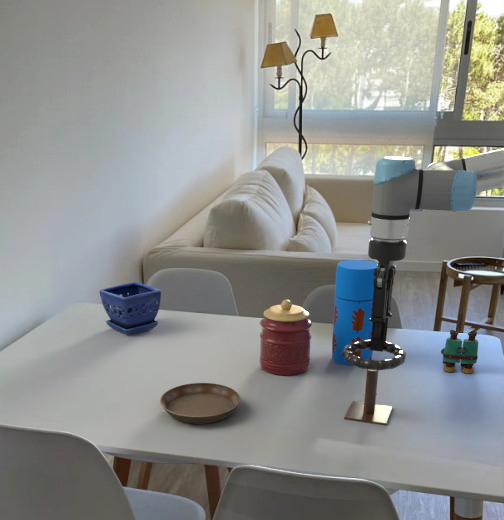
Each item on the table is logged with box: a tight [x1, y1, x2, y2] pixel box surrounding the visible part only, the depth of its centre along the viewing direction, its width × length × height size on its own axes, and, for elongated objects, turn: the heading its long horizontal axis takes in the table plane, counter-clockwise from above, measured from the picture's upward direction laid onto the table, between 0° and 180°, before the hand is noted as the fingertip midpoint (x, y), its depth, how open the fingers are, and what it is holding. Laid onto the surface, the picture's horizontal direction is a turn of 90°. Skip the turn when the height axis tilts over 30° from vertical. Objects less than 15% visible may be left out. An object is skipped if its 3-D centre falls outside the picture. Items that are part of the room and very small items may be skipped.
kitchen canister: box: [259, 299, 313, 376], centre depth 178 cm, size 13×13×18 cm
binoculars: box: [440, 329, 479, 374], centre depth 180 cm, size 9×11×10 cm
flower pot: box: [99, 281, 162, 336], centre depth 206 cm, size 13×13×12 cm
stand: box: [343, 369, 394, 426], centre depth 152 cm, size 9×9×12 cm
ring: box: [342, 340, 407, 371], centre depth 148 cm, size 13×13×2 cm
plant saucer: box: [159, 382, 241, 425], centre depth 157 cm, size 18×18×3 cm
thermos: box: [331, 259, 378, 366], centre depth 182 cm, size 11×11×25 cm
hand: (377, 348), depth 153 cm, fingers closed on ring, 2 cm apart
